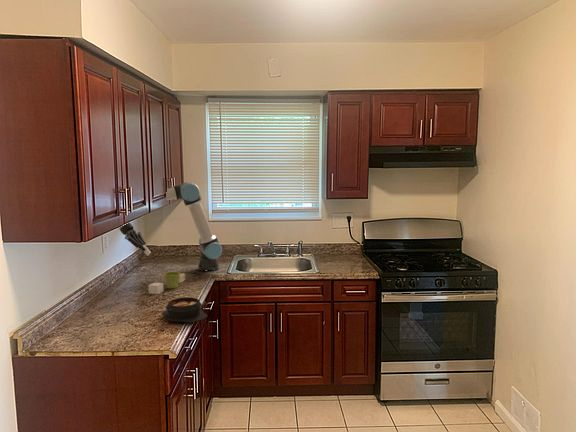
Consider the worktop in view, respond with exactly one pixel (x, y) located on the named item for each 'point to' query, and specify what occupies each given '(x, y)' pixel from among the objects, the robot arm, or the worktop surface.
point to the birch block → (181, 277)
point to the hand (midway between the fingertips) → (149, 254)
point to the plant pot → (172, 279)
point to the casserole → (184, 310)
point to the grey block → (156, 288)
